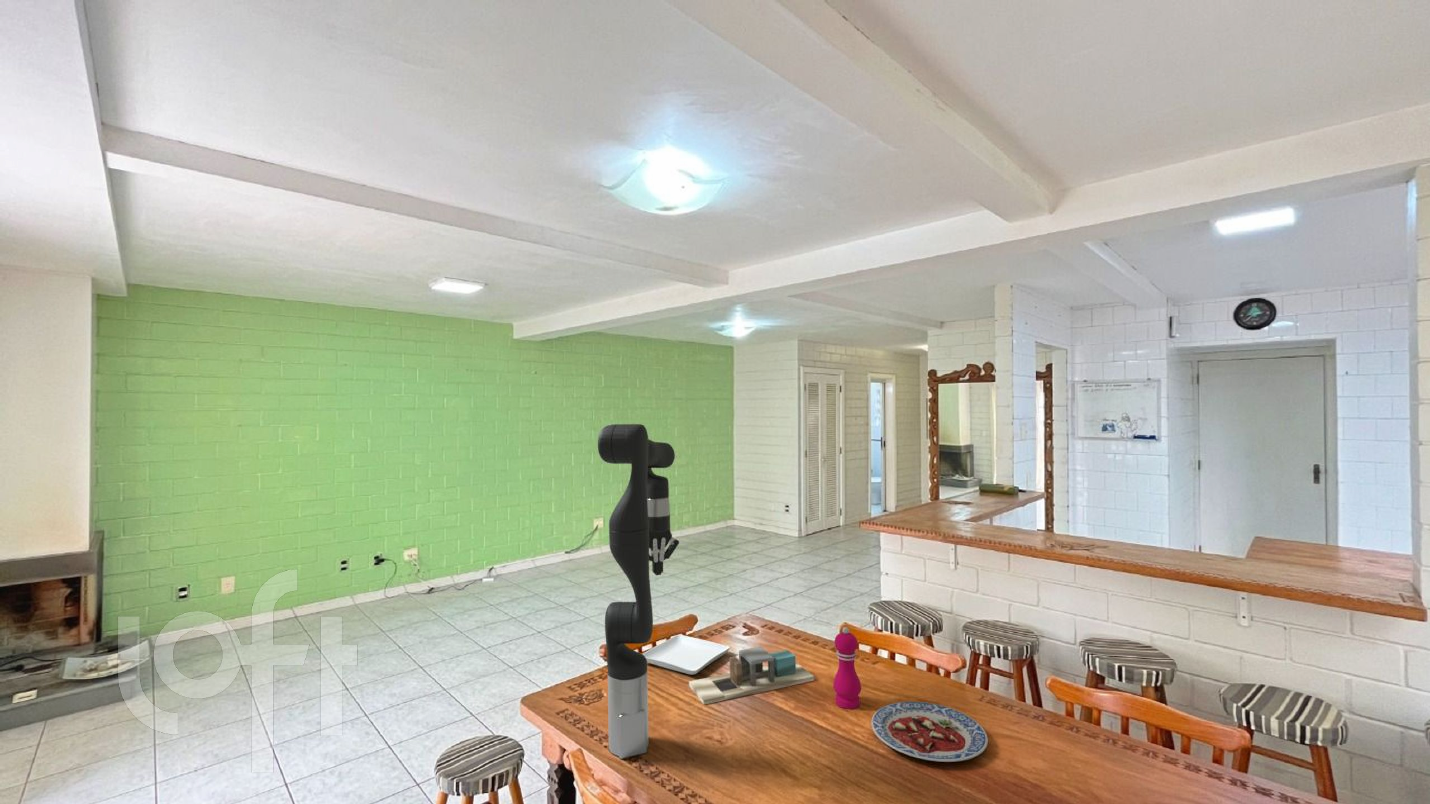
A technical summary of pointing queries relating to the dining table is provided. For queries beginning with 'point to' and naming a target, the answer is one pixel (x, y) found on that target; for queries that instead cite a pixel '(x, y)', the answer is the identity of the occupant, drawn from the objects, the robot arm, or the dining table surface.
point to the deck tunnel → (751, 664)
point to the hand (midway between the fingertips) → (657, 574)
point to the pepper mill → (846, 671)
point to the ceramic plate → (929, 731)
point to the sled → (782, 667)
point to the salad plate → (685, 654)
